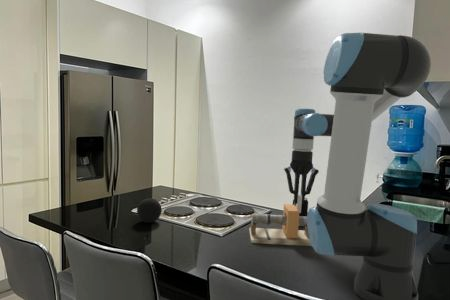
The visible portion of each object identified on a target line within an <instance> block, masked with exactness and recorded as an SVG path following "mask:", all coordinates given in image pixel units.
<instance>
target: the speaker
mask: <svg viewBox="0 0 450 300" xmlns="http://www.w3.org/2000/svg"><path fill="white" fill-rule="evenodd" d="M162 211H163V209H162V205H161V203H160V202H159V201H158V200H157V199H155V198H152V197H151V198H149V197H148V198H145V199H143V200H141V201H140V203H138V205H137V208H136V214H137V216H138V218H139V220H141V221H142V222H144V223H147V224H151V223H153V222H156V221H158V219H160V217H161V215H162Z"/></svg>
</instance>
